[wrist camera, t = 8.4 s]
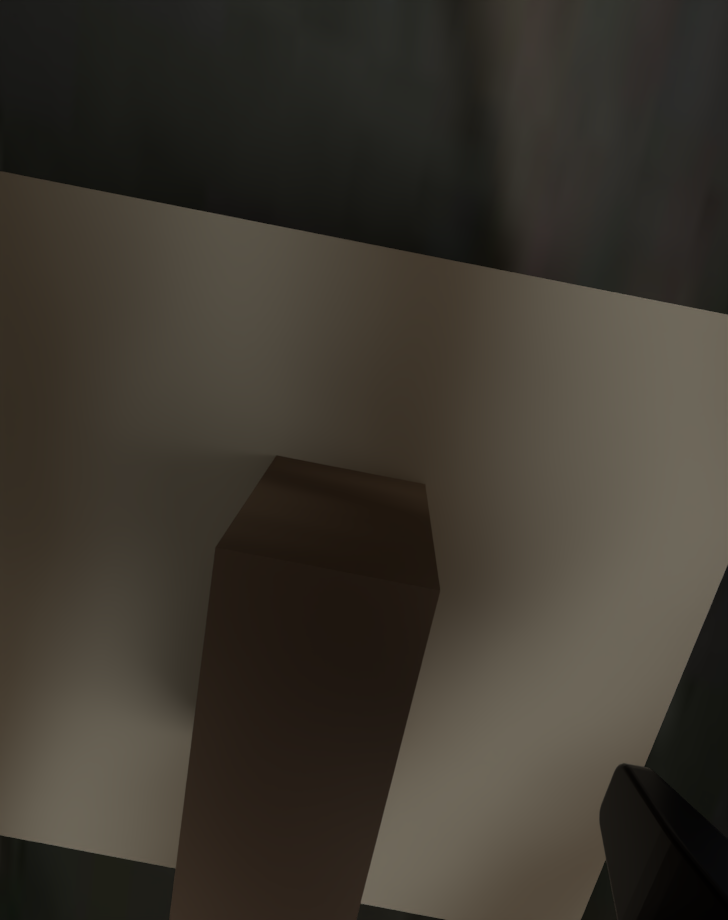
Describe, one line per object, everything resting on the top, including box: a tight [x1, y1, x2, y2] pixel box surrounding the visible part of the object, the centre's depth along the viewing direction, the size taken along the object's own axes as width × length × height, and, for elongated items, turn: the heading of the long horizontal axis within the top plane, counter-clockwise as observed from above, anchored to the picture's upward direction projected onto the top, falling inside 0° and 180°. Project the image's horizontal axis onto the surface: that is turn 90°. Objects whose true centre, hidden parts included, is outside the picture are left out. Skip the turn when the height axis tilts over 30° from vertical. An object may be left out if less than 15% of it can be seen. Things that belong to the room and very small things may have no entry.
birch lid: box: [0, 171, 728, 920], centre depth 10 cm, size 13×13×4 cm
